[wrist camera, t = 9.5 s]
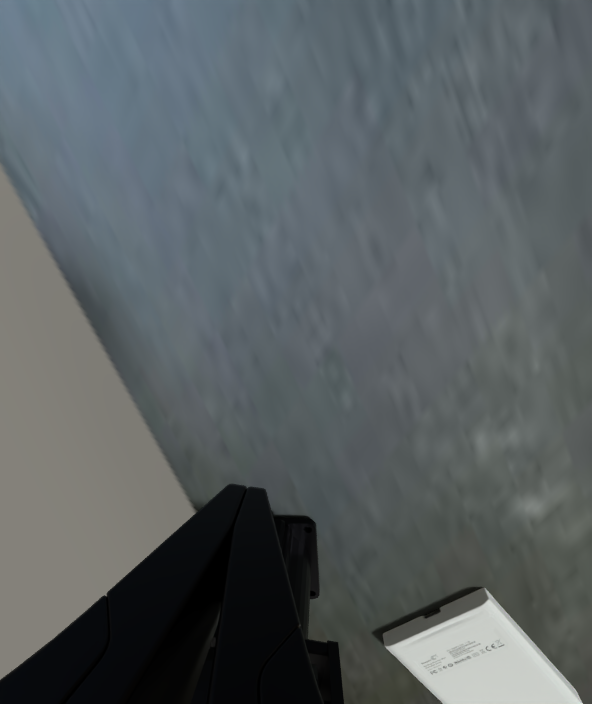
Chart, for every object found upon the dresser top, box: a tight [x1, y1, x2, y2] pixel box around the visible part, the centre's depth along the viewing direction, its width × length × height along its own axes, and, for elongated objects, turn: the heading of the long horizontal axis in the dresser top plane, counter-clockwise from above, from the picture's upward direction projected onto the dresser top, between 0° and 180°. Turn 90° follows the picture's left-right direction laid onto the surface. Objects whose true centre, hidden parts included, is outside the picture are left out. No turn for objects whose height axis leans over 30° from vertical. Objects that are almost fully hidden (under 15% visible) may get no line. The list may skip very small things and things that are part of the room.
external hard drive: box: [383, 588, 583, 704], centre depth 26 cm, size 2×8×12 cm
